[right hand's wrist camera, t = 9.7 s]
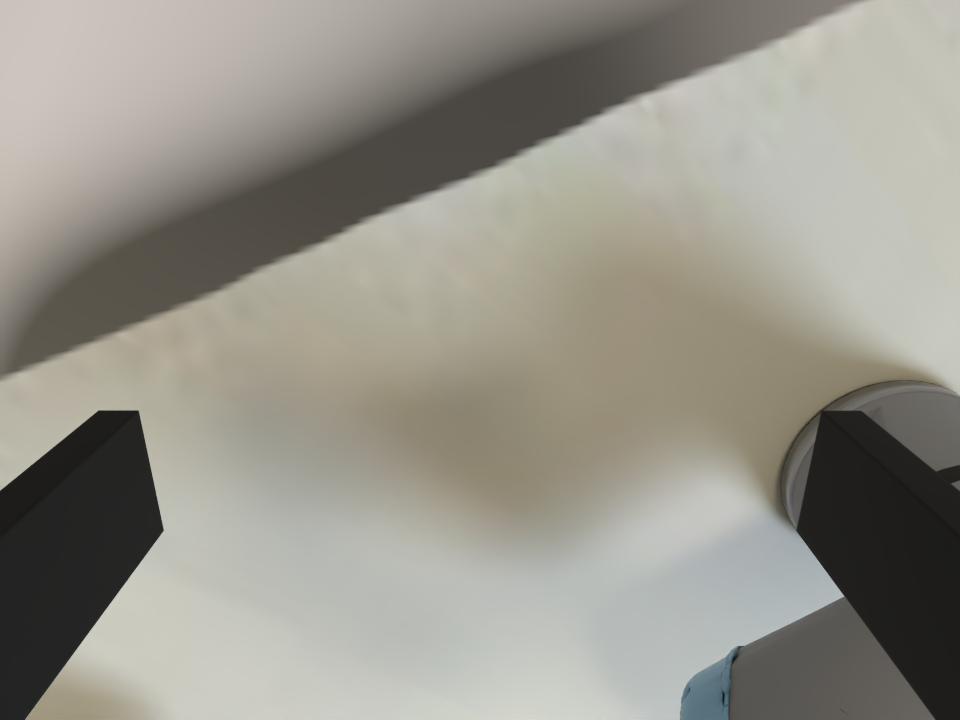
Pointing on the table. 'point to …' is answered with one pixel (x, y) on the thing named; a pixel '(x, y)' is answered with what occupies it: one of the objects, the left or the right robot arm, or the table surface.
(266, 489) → the table surface
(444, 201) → the table surface
